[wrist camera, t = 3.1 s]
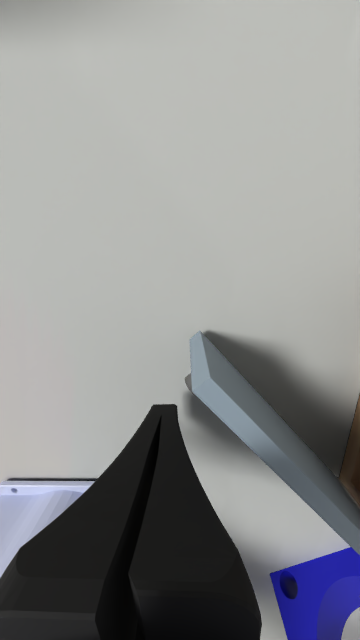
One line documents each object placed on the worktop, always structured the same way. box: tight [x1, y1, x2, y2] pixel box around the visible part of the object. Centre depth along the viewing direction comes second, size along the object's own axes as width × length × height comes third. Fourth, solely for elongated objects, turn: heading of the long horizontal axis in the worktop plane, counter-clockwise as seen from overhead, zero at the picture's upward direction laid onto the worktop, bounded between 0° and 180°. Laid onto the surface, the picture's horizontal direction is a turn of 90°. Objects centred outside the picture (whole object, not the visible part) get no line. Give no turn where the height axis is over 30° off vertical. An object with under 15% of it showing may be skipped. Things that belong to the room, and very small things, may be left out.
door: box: [185, 331, 360, 555], centre depth 10 cm, size 2×16×5 cm, turn 42°
